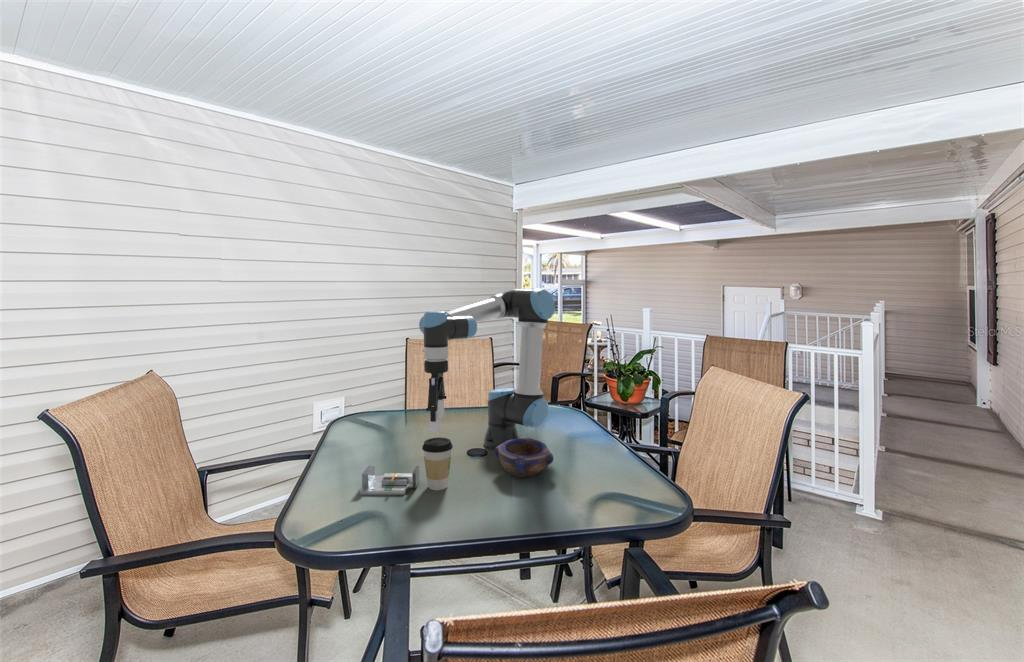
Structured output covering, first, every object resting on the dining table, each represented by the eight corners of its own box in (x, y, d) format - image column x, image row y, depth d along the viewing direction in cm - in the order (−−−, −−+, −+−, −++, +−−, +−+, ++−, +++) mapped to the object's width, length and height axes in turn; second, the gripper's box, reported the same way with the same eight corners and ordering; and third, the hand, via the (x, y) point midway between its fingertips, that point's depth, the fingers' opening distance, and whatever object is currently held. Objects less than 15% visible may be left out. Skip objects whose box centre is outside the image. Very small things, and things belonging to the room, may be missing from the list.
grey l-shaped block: (412, 478, 156) (412, 462, 156) (404, 494, 144) (404, 477, 144) (371, 479, 156) (370, 463, 155) (359, 494, 144) (359, 477, 143)
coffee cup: (458, 482, 153) (457, 438, 152) (444, 494, 144) (444, 448, 143) (432, 478, 156) (431, 435, 155) (416, 490, 147) (416, 444, 146)
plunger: (419, 480, 153) (419, 466, 153) (414, 490, 145) (414, 475, 145) (386, 480, 153) (386, 466, 152) (379, 491, 145) (379, 475, 145)
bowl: (513, 487, 149) (513, 457, 148) (489, 468, 165) (489, 441, 164) (559, 477, 158) (559, 449, 157) (532, 460, 173) (533, 434, 173)
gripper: (430, 354, 159) (431, 414, 161) (416, 366, 134) (418, 437, 136) (452, 354, 159) (453, 414, 161) (442, 366, 134) (443, 436, 136)
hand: (437, 424), depth 148 cm, fingers open, 13 cm apart
